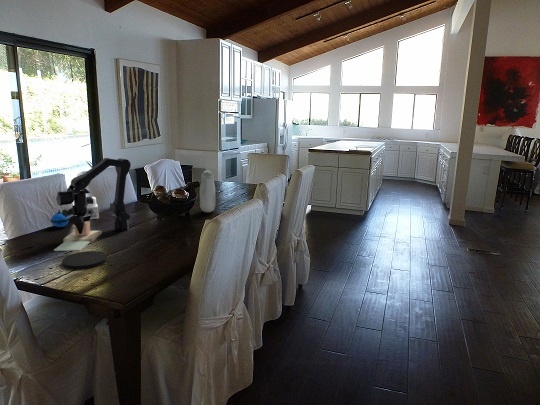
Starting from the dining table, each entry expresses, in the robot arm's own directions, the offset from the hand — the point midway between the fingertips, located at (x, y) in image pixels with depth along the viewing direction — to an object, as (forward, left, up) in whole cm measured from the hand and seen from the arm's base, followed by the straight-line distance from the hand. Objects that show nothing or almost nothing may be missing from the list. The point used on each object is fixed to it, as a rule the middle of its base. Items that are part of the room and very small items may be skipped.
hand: (82, 231), depth 200 cm
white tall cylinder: (-61, -53, -3) cm, 81 cm away
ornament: (+19, -19, -3) cm, 27 cm away
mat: (0, +14, -3) cm, 14 cm away
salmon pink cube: (0, 0, -1) cm, 1 cm away
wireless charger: (-13, +34, -4) cm, 37 cm away
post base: (0, 0, -3) cm, 3 cm away
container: (+9, -39, -3) cm, 40 cm away
